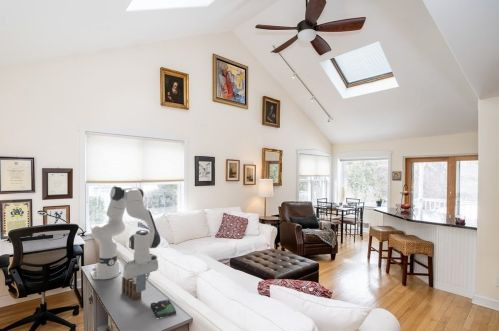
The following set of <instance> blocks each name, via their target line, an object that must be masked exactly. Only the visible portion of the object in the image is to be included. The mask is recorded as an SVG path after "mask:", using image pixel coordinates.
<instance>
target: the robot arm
mask: <svg viewBox="0 0 499 331" xmlns="http://www.w3.org/2000/svg"><path fill="white" fill-rule="evenodd" d="M109 194H110V195H109V196H110V198H111V199H110V202H109V204H108V208H107V211H106V216H107V218H108V221H107V222H104V223H100V224H97V225H95V226H94V227H93V228H92V230H91V235H92V238H94V239H95V240H96V241H97V243H98V245H99V257H98V260H97V262H96V264H95V265H94V266H93V268H92V271H90V273H91V274H90V276H91V278H92V279H93V280H108V279H113V278H115V277H118V276H119V274H121V273H122V271H121V270H120V262H119V261H118V253H117V252H118V250H117V249H118V245H117V244H116V243H115V242H114V241H113V237H115V236H119V235H120V234H122V233H124V231H125V230H126V226H125V223H124V221H123V217H124V213H125V211H126V212H127V215H128V216H130V217H131V218H134V219H138V220H141V221H144V223H146V225H147V226H146V227H147V228H148V230H146V229H139V230H136V232H135V233H134V234H132V235H131V236H130V237H129V238H128V247H129V248H130V249H131V250H133V251H134V252H133V260H129V261H126V263H124V265H123V275H122V277H124V278H126V279H129V278H132V279H133V280H134V284H137V283H138V280H136V276H139V275H143V274H146V282H147V281H149V277H150V276H151V273H152V272H156V271H158V269H159V261H158V256H157V255H156V254H154V253H151V252H150V249H156V248H157V247H159V246H160V244H161V236H160V234H159V232H158V230H157V229H158V228H157V225H156V223H155V220H154V218H153V214H152V212H151V211H150V210H149V209H148V208H147V207H146V206H145V203H144V194H145V193H144V191H143V189H141V188H139V187H134V186H127V185H114V186H112V188H111V190H110V193H109Z"/></svg>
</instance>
